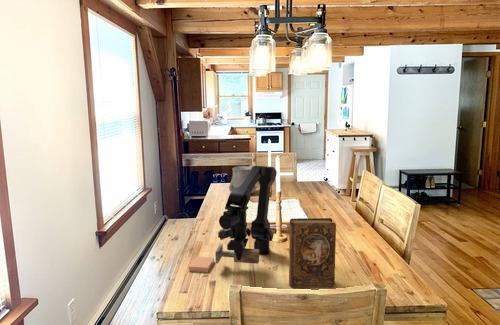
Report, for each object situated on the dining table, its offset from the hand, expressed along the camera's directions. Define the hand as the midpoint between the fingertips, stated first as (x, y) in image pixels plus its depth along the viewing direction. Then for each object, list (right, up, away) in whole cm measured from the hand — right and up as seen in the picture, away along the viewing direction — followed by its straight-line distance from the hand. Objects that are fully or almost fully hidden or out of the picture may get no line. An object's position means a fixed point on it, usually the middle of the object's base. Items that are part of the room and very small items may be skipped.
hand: (239, 258), depth 152 cm
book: (+27, -7, -13) cm, 31 cm away
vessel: (0, +16, +126) cm, 127 cm away
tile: (-12, -3, +2) cm, 13 cm away
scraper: (0, -1, 0) cm, 1 cm away
